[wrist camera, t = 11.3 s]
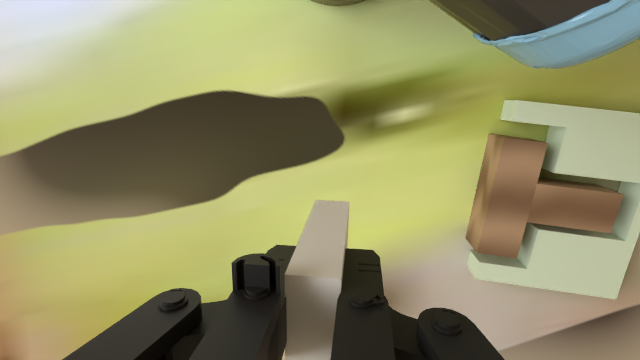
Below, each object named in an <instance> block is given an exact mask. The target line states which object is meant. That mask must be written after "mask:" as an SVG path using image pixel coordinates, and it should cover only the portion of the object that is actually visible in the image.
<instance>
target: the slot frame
mask: <svg viewBox="0 0 640 360" xmlns="http://www.w3.org/2000/svg"><path fill="white" fill-rule="evenodd" d="M500 120H507V121H514V122H523V123H532V124H541V125H550V126H549V129H548V133H547V137H546V141H545V142H546V143H548V145H547V148H546V152H545V156H544V160H543V163H542V167H541V168H542V169H545V170H547V171H550V172H553V173H558V174H567V175H575V176H583V177H591V178H600V179H608V180H616V181H621V182H620V185H619V189H618V193H621V194H624V196H623V199H622V202H621V205H620V208H619V211H618V214H617V217H616V220H615V223H614V226H613V229H612V232H611V233H604V232H597V231H589V230H582V229H574V228H567V227H559V226H552V225H544V224H537V223H529V222H527V223H526V227H525V231H524V234H523V238H522V242H521V246H520V249H519V253H518V257H517V259H516V258H509V257H502V256H495V255H488V254H481V253H477V252H476V251H472V250H470V254H469V258H468V262H467V267H468V269H469V270H470V272H471V273H472V275H473V276H474V278H475V279H479V280H486V281H493V282H500V283H507V284H514V285H520V286H527V287H534V288H541V289H548V290H555V291H562V292H569V293H575V294H582V295H589V296H596V297H603V298H610V299H616V298H617V295H618V292H619V289H620V287H621V284H622V281H623V278H624V275H625V272H626V270H627V267H628V264H629V261H630V258H631V255H632V253H633V250H634V247H635V244H636V241H637V238H638V236H639V233H640V113H633V112H624V111H614V110H605V109H595V108H586V107H577V106H567V105H558V104H548V103H539V102H529V101H520V100H505V101H504V105H503V110H502V114H501V118H500Z"/></svg>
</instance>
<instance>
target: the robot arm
mask: <svg viewBox="0 0 640 360" xmlns="http://www.w3.org/2000/svg"><path fill="white" fill-rule="evenodd" d="M312 1H314V2H317V3H321V4H325V5H335V6H339V5H349V4H354V3H357V2H360V1H363V0H312ZM429 1H430V2H432V3H433V4H434V5H436V6H437V7H439V8H440V9H441V10H443V11H444V12H446V13H447V14H448V15H450V16H451V17H453V18H454V19H455V20H457V21H458V22H459V23H461V24H462V25H464V26H465V27H466V28H468V29H469V30H471V31H472V32H473V36H474V37H475V38H476V39H477V40H479V41H480V42H482V43H484V44H487V45H492V46H495V47H496V48H498V49H499V50H501V51H503V52H504V53H506V54H507V55H509V56H510V57H512V58H513V59H515V60H517V61H518V62H520V63H522V64H524V65H526V66H529V67H532V68H552V69H557V68H564V67H569V66H573V65H578V64H581V63H585V62H588V61H590V60H593V59H596V58H599V57H601V56H604V55H606V54H609V53H611V52H613V51H615V50H617V49H619V48H622V47H624V46H626V45H628V44H630V43H632V42H633V41H635V40H637V39H639V38H640V0H429ZM348 220H349V202H345V201H326V200H316V201H315V203H314V205H313V208H312V210H311V213H310V215H309V217H308V220H307V222H306V224H305V227H304V229H303V232H302V234H301V236H300V239H299V241H298V244H297V246H287V245H276V246H275V247H273V248H271V249H270V250H268V251H267V253H266V254H249V255H244V256H242V257H240V258H237V259H236V260H235V261H233V262H232V280H233V291H232V293H231V294H230V296H229V298H228V299H227V300H223V301H218V302H210V303H201V296H200V294H199V293H198V292H197V291H194V290H192V289H185V288H178V289H177V288H176V289H171V290H169V291H165V292H162V293H160V294H159V295H157V296H155V297H153V298H152V299H150V300H149V301H147V302H146V303H144V304H143V305H141V306H140V307H139V308H137V309H136V310H134V311H133V312H131V313H130V314H128V315H127V316H125V317H124V318H122V319H121V320H120V321H118V322H117V323H115V324H114V325H112V326H111V327H109V328H108V329H106V330H105V331H103V332H102V333H101V334H99V335H98V336H96V337H95V338H93V339H92V340H90V341H89V342H87V343H86V344H84V345H83V346H82V347H80V348H79V349H77V350H76V351H74V352H73V353H71V354H70V355H68V356H67V357H66V358H64V359H63V360H282V356H283V353H284V349H285V360H504V359H503V357H502V356H501V355H500V354H499V353H498V351H497V350H496V349H495V348H494V347H493V345H492V344H491V343H490V342H489V341H488V340H487V338H486V337H485V336H484V335H483V334H482V333H481V331H480V330H479V329H478V328H477V327H476V325H475V324H474V323H473V322H472V321H471V320H469V319H468V318H467V317H466V316H464V315H462V314H460V313H458V312H456V311H454V310H451V309H446V308H430V309H426V310H424V311H423V312H421V313H420V315H419V318H418V319H415V318H412V317H408V316H405V315H403V314H400V313H398V312H397V311H395V310H393V309H392V308H391V307H390V306H389V305H388V301H387V299H386V297H385V296H384V291H383V282H382V273H381V265H380V257H379V256H378V255H377V254H376V253H375V252H374V251H373V250H363V249H348V248H347V245H348Z"/></svg>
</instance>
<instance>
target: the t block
mask: <svg viewBox="0 0 640 360" xmlns="http://www.w3.org/2000/svg"><path fill="white" fill-rule="evenodd" d="M547 145H548V143H546V142H542V141H537V140H533V139H529V138H521V137H512V136H504V135H495V134H489V136H488V140H487V145H486V149H485V153H484V158H483V162H482V167H481V171H480V176H479V180H478V185H477V189H476V194H475V198H474V203H473V207H472V211H471V216H470V220H469V225H468V229H467V234H466V239H467V240H468V242H469V243H470V244H471V246H472V247H473V248H474V249H475V251H476V252H477V253H481V254H488V255H495V256H502V257H509V258H516V259H517V257H518V253H519V249H520V246H521V242H522V238H523V234H524V231H525V227H526V223H527V222H529V223H537V224H544V225H552V226H559V227H567V228H574V229H582V230H589V231H597V232H604V233H611V232H612V229H613V226H614V223H615V220H616V217H617V214H618V211H619V208H620V205H621V202H622V199H623V196H624V194H621V193H618V192H615V191H613V190H610V189H607V188H604V187H602V186H599V185H596V184H588V183H580V182H572V181H564V180H556V179H548V178H539V175H540V171H541V167H542V163H543V160H544V156H545V152H546V148H547Z"/></svg>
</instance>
